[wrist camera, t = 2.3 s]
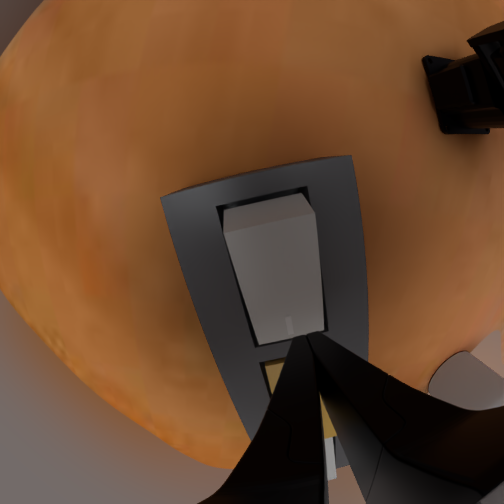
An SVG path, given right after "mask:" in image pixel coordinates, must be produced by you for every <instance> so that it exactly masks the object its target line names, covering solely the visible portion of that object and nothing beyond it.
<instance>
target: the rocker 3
mask: <svg viewBox="0 0 504 504" xmlns="http://www.w3.org/2000/svg"><path fill="white" fill-rule="evenodd" d="M325 450H326V463H327V478H328V480H331V479H335V478H337V477H336V466H335V455H334V445H333V437H330V438H326V439H325Z"/></svg>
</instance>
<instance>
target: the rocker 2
mask: <svg viewBox="0 0 504 504" xmlns="http://www.w3.org/2000/svg"><path fill="white" fill-rule="evenodd" d="M285 358H286V357H283V358H278V359H273V360H268V361H265V368H266V372H267V376H268V380H269V384H270V388H271V392H272V394H273V391H274V389H275V386H276V383H277V381H278V378H279V375H280V372H281V370H282V367H283V364H284V361H285ZM320 400H321V409H322V418H323V428H324V439H326V438H330V437H334V436H337V434H336V432H335V429H334V427H333V425H332V422H331V420H330V418H329V415H328V413H327V411H326V408H325V406H324V404H323V401H322V399H321V396H320Z"/></svg>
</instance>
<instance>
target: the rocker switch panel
mask: <svg viewBox="0 0 504 504" xmlns="http://www.w3.org/2000/svg"><path fill="white" fill-rule="evenodd" d="M298 193H302V194H303V196H304V197H305V199H306V200H307V202H308V203H309V205H310V206H311V208H312V209H313V211H314V212H315V217H316V226H317V236H318V246H319V257H320V270H321V283H322V299H323V318H324V330H322V331H320V332H321V333H323V334H324V335H326V336H327V337H329V338H331V339H332V340H334V341H335V342H337V343H338V344H340V345H342V346H343V347H345V348H346V349H348V350H350V351H351V352H353V353H355V354H356V355H358V356H359V357H361V358H363V359H364V360H366V361H368V340H369V322H368V288H367V270H366V257H365V246H364V236H363V226H362V218H361V210H360V203H359V196H358V189H357V183H356V177H355V171H354V166H353V160H352V155H344V156H331V157H321V158H315V159H309V160H304V161H298V162H293V163H288V164H283V165H278V166H273V167H268V168H264V169H259V170H254V171H250V172H246V173H241V174H237V175H233V176H229V177H225V178H221V179H217V180H213V181H209V182H205V183H201V184H198V185H194V186H190V187H187V188H183V189H181V190H178V191H175V192H173V193H170V194H168V195H165V196H163V197H160V199H161V202H162V206H163V210H164V213H165V217H166V220H167V224H168V227H169V230H170V234H171V237H172V240H173V244H174V247H175V250H176V253H177V256H178V259H179V263H180V266H181V269H182V272H183V275H184V278H185V281H186V284H187V287H188V290H189V292H190V295H191V298H192V301H193V304H194V307H195V309H196V312H197V315H198V318H199V320H200V323H201V326H202V328H203V331H204V334H205V336H206V339H207V341H208V344H209V346H210V349H211V351H212V354H213V356H214V359H215V361H216V364H217V366H218V369H219V371H220V373H221V376H222V378H223V381H224V383H225V385H226V388H227V390H228V392H229V394H230V397H231V399H232V401H233V403H234V406H235V408H236V410H237V412H238V414H239V417H240V419H241V421H242V423H243V425H244V427H245V429H246V431H247V433H248V435H249V438H250V440H251V441H252V440H253V438H254V436H255V434H256V432H257V430H258V428H259V426H260V424H261V422H262V419H263V417H264V414H265V412H266V410H267V407H268V404H269V402H270V399H271V397H272V392H271V388H270V384H269V380H268V376H267V372H266V368H265V361H268V360H273V359H278V358H283V357H286V355H287V353H288V350H289V347H290V344H291V341H292V338H289V339H284V340H280V341H275V342H271V343H266V344H261V345H259V343H258V340H257V337H256V334H255V331H254V328H253V325H252V322H251V319H250V316H249V313H248V310H247V307H246V304H245V301H244V297H243V294H242V291H241V288H240V285H239V282H238V279H237V275H236V272H235V269H234V266H233V263H232V259H231V256H230V253H229V250H228V247H227V243H226V240H225V237H224V234H223V228H224V210H227V209H231V208H235V207H239V206H244V205H248V204H252V203H257V202H261V201H266V200H270V199H275V198H279V197H284V196H289V195H293V194H298ZM333 445H334V455H335V466H336V469H337V468H340V467H344V466H347V465H350V464H349V462H348V460H347V457H346V455H345V452H344V450H343V448H342V445H341V443H340V441H339V439H338V436H334V437H333Z"/></svg>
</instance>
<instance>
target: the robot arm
mask: <svg viewBox="0 0 504 504" xmlns="http://www.w3.org/2000/svg"><path fill="white" fill-rule="evenodd" d="M467 42H468V43H469V45H470V46H471V47H473V49H474V51H475V52H476V54H473V55H470V56H467V57H464V58H461V59H458V60H456V61H455V60H451V59H446V58H441V57H435V56H429V55H427V56H425V57H423V59H422V60H423V63H424V66H425V70H426V73H427V76H428V79H429V82H430V86H431V89H432V93H433V97H434V101H435V105H436V109H437V113H438V118H439V123H440V128H441V130H442V132H443V133H444V134H489V133H490V128H504V21H503V22H500V23H497V24H495V25H492V26H490V27H487V28H486V29H484V30H482V31H481V32H479V33H477V34H476V35H474V36H472V37H471V38H469V39H468V40H467ZM428 61H429V62H430V63H429V62H428ZM446 126H447V129H446ZM320 396H321V399H322V401H323V404H324V406H325V408H326V411H327V413H328V415H329V418H330V420H331V422H332V425H333V427H334V429H335V432H336V434H337V436H338V439H339V441H340V443H341V445H342V448H343V450H344V452H345V455H346V457H347V460H348V462H349V464H350V467H351V469H352V471H353V473H354V476H355V478H356V480H357V483H358V485H359V488H360V490H361V492H362V495H363V497H364V499H365V501H366V504H504V406H500V407H495V408H490V409H485V410H469V409H464V408H461V407H458V406H456V405H453V404H450V403H448V402H445V401H443V400H440V399H438V398H435V397H433V396H430V395H428V394H426V393H423V392H421V391H419V390H417V389H414V388H412V387H410V386H408V385H407V384H405V383H403V382H401V381H399V380H398V379H396V378H394V377H392V376H391V375H388V374H387V373H386V372H384V371H382V370H381V369H379V368H377V367H376V366H374V365H372V364H371V363H369V362H368V361H366V360H364V359H363V358H361V357H359V356H358V355H356V354H355V353H353V352H351V351H350V350H348V349H346V348H345V347H343V346H342V345H340V344H338V343H337V342H335V341H334V340H332V339H331V338H329V337H327V336H326V335H324V334H323V333H321V332H320V331H315V332H311V333H307V334H306V335H299V336H295V337H293V338H292V341H291V344H290V347H289V350H288V353H287V355H286V358H285V361H284V364H283V367H282V370H281V372H280V375H279V378H278V381H277V383H276V386H275V389H274V391H273V394H272V397H271V399H270V402H269V404H268V407H267V410H266V412H265V414H264V417H263V419H262V422H261V424H260V426H259V428H258V430H257V432H256V434H255V436H254V438H253V440H252V441H251V443H250V445H249V446H248V448H247V450H246V451H245V453H244V454H243V456H242V457H241V459H240V461H239V462H238V464H237V465H236V467H235V468H234V470H233V471H232V473H231V474H230V475H229V477H228V478H227V480H226V481H225V483H224V484H223V485H222V486H221V487H220V488H219V489H218V490H217V491H216V492H215V493H214V494H213V495H211V496H210V497H208V498H207V499H205V500H203V501H201V502H199V503H197V504H329V496H328V478H327V463H326V450H325V439H324V428H323V418H322V409H321V400H320Z"/></svg>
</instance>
